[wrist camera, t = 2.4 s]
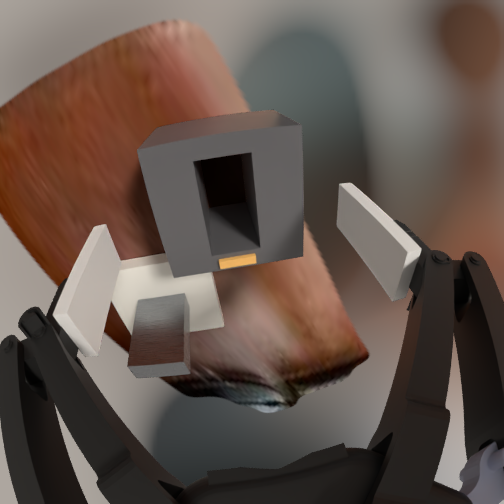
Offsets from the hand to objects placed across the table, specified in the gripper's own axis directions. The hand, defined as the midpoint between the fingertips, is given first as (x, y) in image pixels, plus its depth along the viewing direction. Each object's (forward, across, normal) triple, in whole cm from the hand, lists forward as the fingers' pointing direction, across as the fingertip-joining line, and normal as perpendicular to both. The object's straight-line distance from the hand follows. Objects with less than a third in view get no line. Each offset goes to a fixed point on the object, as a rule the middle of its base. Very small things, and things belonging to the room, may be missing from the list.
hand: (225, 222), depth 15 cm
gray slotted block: (+9, 0, 0) cm, 9 cm away
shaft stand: (+9, +8, +12) cm, 17 cm away
